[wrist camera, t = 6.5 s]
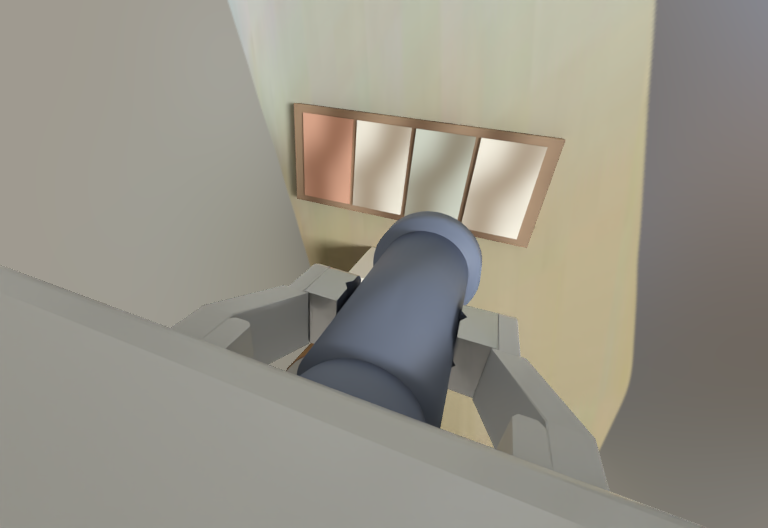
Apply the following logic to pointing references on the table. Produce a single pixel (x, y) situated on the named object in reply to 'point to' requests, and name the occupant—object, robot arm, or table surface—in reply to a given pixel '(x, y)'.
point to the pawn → (402, 319)
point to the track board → (424, 169)
